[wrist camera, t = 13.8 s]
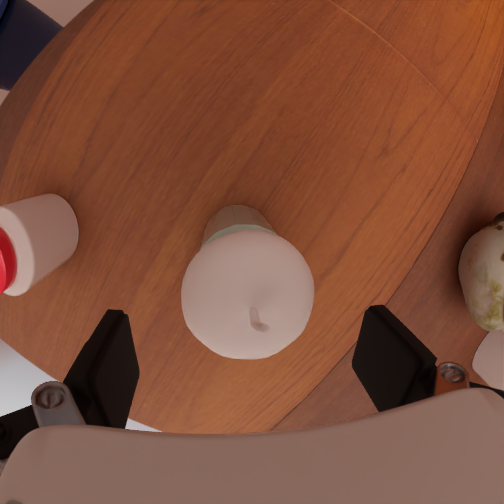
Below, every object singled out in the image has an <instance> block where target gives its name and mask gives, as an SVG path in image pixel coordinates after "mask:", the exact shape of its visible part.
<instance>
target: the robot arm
mask: <svg viewBox="0 0 504 504" xmlns="http://www.w3.org/2000/svg"><path fill="white" fill-rule="evenodd" d="M436 361H437V358H436V357H435V356H434V355H433V353H432V352H431V351H430V350H429V349H428V348H427V347H426V346H425V345H424V344H423V343H422V342H421V341H420V340H419V339H418V338H417V337H416V336H415V335H414V334H413V333H412V332H411V331H410V330H409V329H408V328H407V327H406V326H405V325H404V324H403V323H402V322H401V321H400V320H399V319H398V318H397V317H396V316H395V315H394V314H392V313H391V312H390V311H389V310H388V309H387V308H386V307H385V306H384V305H374V306H370V307H369V308H368V309H367V310H366V311H365V313H364V317H363V322H362V326H361V330H360V333H359V337H358V341H357V345H356V348H355V352H354V356H353V359H352V368H353V370H354V371H355V373H356V375H357V376H358V378H359V380H360V381H361V383H362V385H363V386H364V388H365V390H366V391H367V393H368V394H369V396H370V398H371V399H372V401H373V403H374V405H375V406H376V408H377V410H378V411H379V412H378V413H375V414H370V415H366V416H362V417H358V418H353V419H348V420H343V421H338V422H333V423H328V424H322V425H316V426H309V427H302V428H295V429H286V430H277V431H266V432H252V433H233V434H185V433H166V432H149V431H139V430H129V429H125V426H126V422H127V419H128V415H129V411H130V407H131V404H132V400H133V396H134V393H135V389H136V386H137V382H138V379H139V366H138V361H137V357H136V352H135V348H134V343H133V338H132V333H131V328H130V323H129V317H128V315H127V314H124V312H123V311H122V310H111V309H108V310H107V311H106V313H105V315H104V316H103V318H102V319H101V321H100V322H99V324H98V326H97V327H96V329H95V330H94V332H93V334H92V335H91V337H90V339H89V340H88V341H87V342H86V343H85V345H84V346H83V348H82V350H81V351H80V353H79V355H78V356H77V358H76V360H75V361H74V363H73V365H72V367H71V368H70V370H69V372H68V374H67V376H66V377H65V379H64V381H63V383H61V382H58V381H49V382H45V383H43V384H41V385H39V386H38V387H37V388H36V389H35V390H34V391H33V393H32V396H31V402H32V405H30V406H28V407H25V408H22V409H20V410H17V411H15V412H12V413H9V414H7V415H4V416H1V417H0V504H504V391H503V390H500V389H496V388H492V387H488V386H484V385H480V384H476V383H473V382H469V375H468V372H467V371H466V369H465V368H463V367H462V366H461V365H459V364H457V363H454V362H443V363H440V364H439V365H438V367H436V365H435V363H436Z"/></svg>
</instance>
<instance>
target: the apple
mask: <svg viewBox="0 0 504 504" xmlns="http://www.w3.org/2000/svg"><path fill="white" fill-rule="evenodd" d="M313 300H314V281H313V278H312V275H311V272H310V269H309V266H308V265H307V263H306V261H305V259H304V258H303V256H302V255H301V253H300V252H299V251H298V250H297V249H296V248H295V247H294V246H293V245H292V244H291V243H289V242H288V241H286V240H285V239H283V238H282V237H280V236H277V235H275V234H273V233H270V232H268V231H262V230H257V229H250V230H241V231H237V232H234V233H230V234H227V235H225V236H222V237H219V238H217V239H215V240H213V241H212V242H210V243H208V244H206V245H205V246H204V247H203V248H202V249H201V250H200V251H199V252H198V253H197V254H196V255H195V256H194V258H193V259H192V261H191V262H190V264H189V266H188V268H187V270H186V273H185V275H184V278H183V282H182V289H181V302H182V311H183V315H184V319H185V322H186V324H187V326H188V328H189V329H190V331H191V332H192V334H193V335H194V336H195V337H196V338H197V339H198V340H199V341H201V342H202V343H203V344H204V345H205V346H207V347H208V348H209V349H210V350H212V351H214V352H215V353H217V354H219V355H221V356H224V357H228V358H233V359H260V358H267V357H269V356H271V355H273V354H276V353H278V352H279V351H281V350H282V349H283V348H285V347H286V346H288V345H289V344H290V343H292V342H293V341H294V340H295V339H297V337H298V336H299V335H300V334H301V333H302V332H303V331H304V329H305V327H306V325H307V322H308V320H309V317H310V314H311V310H312V306H313Z"/></svg>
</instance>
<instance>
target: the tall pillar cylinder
mask: <svg viewBox="0 0 504 504" xmlns="http://www.w3.org/2000/svg"><path fill="white" fill-rule="evenodd" d="M472 368H473V370H474V371H475V372H476V373H477V374H478V375H479V376H480V377H481V378H482V379H483V380H484V381H485V382H486V383H487V384H488V385H489V386H490V387H492V388H496V389H500V390H503V391H504V331H500V332H489V333H488V334H487V335H486V337H485V338H484V339H483V341H482V342H481V344H480V345H479V347H478V349H477V351H476V353H475V355H474V358H473V362H472Z"/></svg>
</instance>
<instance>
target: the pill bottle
mask: <svg viewBox="0 0 504 504" xmlns="http://www.w3.org/2000/svg"><path fill="white" fill-rule="evenodd" d="M78 239H79V229H78V222H77V219H76V216H75V213H74V211H73V209H72V208H71V206H70V205H69V203H68V202H67V201H66V200H65V199H63V198H62V197H60V196H59V195H56V194H52V193H46V194H41V195H37V196H33V197H29V198H25V199H22V200H18V201H14V202H11V203H7V204H4V205H0V294H1V293H4V294H7V295H10V296H18V295H22V294H23V293H25V292H26V291H28V290H29V289H30V288H32V287H33V286H34V285H35V284H37V283H38V282H39V281H41V280H42V279H43V278H44V277H46V276H47V275H48V274H50V273H51V272H52V271H54V270H55V269H57V268H58V267H59V266H61V265H62V264H63V263H65V262H66V261H68V260H69V259H70V258H71V257H72V255H73V254H74V252H75V250H76V247H77V244H78Z"/></svg>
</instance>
